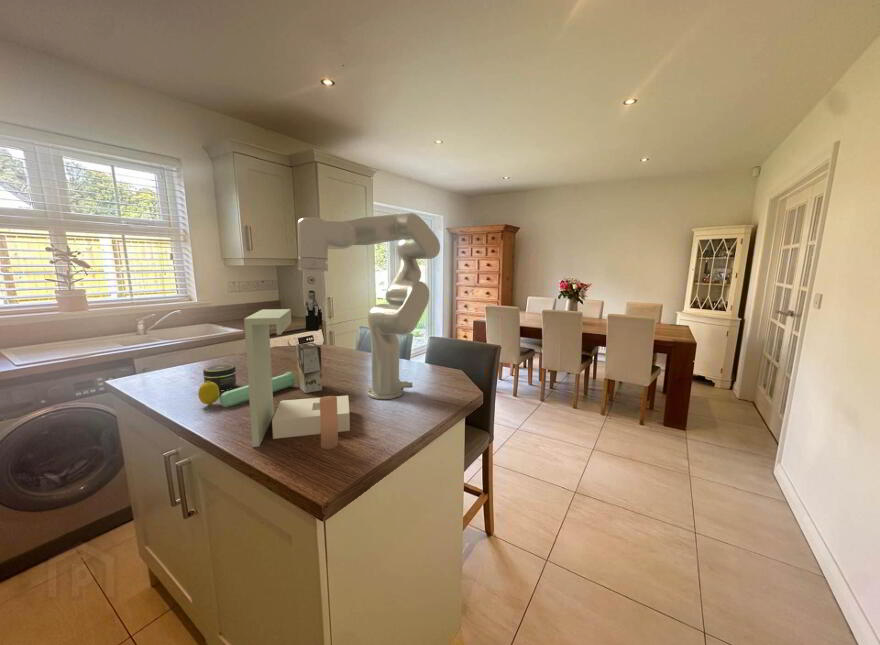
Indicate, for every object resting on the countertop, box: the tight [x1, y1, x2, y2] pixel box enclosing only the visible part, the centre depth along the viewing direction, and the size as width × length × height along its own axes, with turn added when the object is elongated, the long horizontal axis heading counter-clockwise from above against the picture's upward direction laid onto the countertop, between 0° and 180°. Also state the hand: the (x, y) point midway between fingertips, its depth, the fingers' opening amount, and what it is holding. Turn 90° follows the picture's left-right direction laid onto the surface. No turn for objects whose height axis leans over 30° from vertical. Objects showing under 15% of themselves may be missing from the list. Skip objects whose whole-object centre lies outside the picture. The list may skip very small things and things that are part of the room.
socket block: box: [271, 394, 351, 440], centre depth 99 cm, size 19×14×5 cm
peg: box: [319, 395, 339, 450], centre depth 86 cm, size 4×4×12 cm
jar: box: [202, 363, 237, 392], centre depth 127 cm, size 10×10×8 cm
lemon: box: [197, 381, 221, 406], centre depth 110 cm, size 6×6×8 cm
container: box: [219, 371, 296, 408], centre depth 120 cm, size 6×6×25 cm
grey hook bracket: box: [243, 308, 292, 448], centre depth 94 cm, size 8×20×32 cm, turn 16°
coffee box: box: [296, 342, 323, 394], centre depth 127 cm, size 9×6×16 cm
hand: (314, 328), depth 97 cm, fingers open, 9 cm apart
